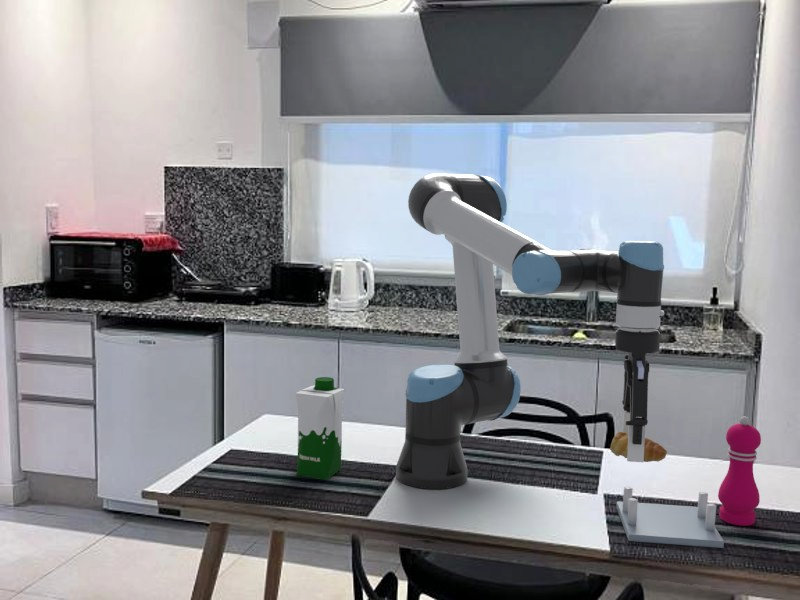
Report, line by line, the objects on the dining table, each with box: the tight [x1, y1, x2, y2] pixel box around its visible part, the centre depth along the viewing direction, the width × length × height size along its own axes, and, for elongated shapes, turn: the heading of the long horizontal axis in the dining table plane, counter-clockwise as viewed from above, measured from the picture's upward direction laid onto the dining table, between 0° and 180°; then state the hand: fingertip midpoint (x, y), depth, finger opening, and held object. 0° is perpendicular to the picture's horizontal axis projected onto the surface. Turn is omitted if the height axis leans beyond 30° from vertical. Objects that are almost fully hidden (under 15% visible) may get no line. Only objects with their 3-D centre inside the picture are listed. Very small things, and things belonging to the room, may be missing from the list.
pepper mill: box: [717, 415, 762, 527], centre depth 153 cm, size 7×7×20 cm
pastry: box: [609, 431, 668, 463], centre depth 145 cm, size 9×7×4 cm
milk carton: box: [295, 376, 345, 481], centre depth 173 cm, size 9×9×20 cm
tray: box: [615, 486, 725, 549], centre depth 150 cm, size 16×16×6 cm
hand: (632, 453), depth 146 cm, fingers closed on pastry, 8 cm apart
